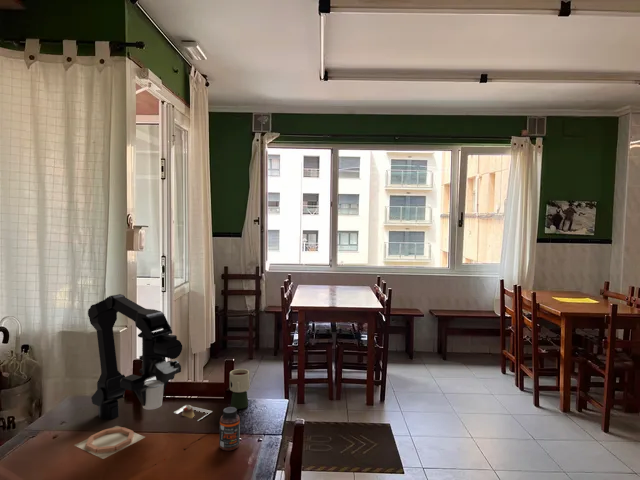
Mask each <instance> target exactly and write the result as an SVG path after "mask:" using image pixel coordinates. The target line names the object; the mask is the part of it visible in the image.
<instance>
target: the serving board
mask: <svg viewBox="0 0 640 480" xmlns="http://www.w3.org/2000/svg"><path fill="white" fill-rule="evenodd" d="M120 427H121V426H119V425H115V426H113V427H112V428H120ZM128 436H129V435H127V434H124V433H122V432H118V433H109V434H105V435H103V436H101V437H99V438H96V439H94V441H93V443H92V444H93V445H95V446H97V447H106V446H115V445H117V444H119V443H121V442H123V441H125V440H127V439H128ZM145 438H146V436H144V435H141V434H139V433H136V432H134V436H133V439H132V442H131V443H130V444H128V445H126V446H124V447H122V448H120V449H118V450H115V451H110V452H102V453H97V452H96V453H95V452H93V451H91V450H88V449H86V443H87V441H88V439H89V438H86V439H85V440H82V441H80V442H78V443H75V444H74V445H73V446H74V447H77V448H79V449H81V450H82V451H85V452H87V453H89V454H92V455H93V456H95V457H97V458H100V459H102V460H104V459H106V458H108V457H110V456H113V455H114V454H116V453H118V452H120V451H123V450H124V449H126V448H128V447H129V446H132V445H133V444H136V443H138V442H140V441H141V440H143V439H145Z"/></svg>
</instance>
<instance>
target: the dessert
mask: <svg viewBox="0 0 640 480" xmlns="http://www.w3.org/2000/svg"><path fill="white" fill-rule="evenodd" d="M194 410H196V411H195V412H199V411H200V413H203V412H205V413H204V414H205V415H203V416H202V417H201V418H199V419H197V422H199V421H200V420H202V419H204V418H205V417H207V416H208V415H209V414H212V413H213V410H208V409H205V408H201V407H196V406H192V405H190V404H185V405H183V406H182V407H180V408H178V409H177V410H175V411H173V413H174V414H175V415H176V414H177V415H178V414H180V413H181V412H182V413H181V416H182V417H185V418H189V419H191V420H192V419H193V417H194V416H195V417H196V415H195V413H194ZM207 413H208V414H207ZM195 417H194V418H195Z"/></svg>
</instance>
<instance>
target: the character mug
mask: <svg viewBox="0 0 640 480" xmlns="http://www.w3.org/2000/svg"><path fill="white" fill-rule="evenodd" d="M229 390H230V391H231V392H232V394H231V399H230V400H231V401H230V407H234V408H236V409H237V410H240V409H241V410H242V409H246V408H247V407H248V406H249V399H248V392H247V391H249V390H250V370H248V369H246V368H237V369H233V370H231V371H230V372H229Z"/></svg>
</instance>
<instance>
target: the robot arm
mask: <svg viewBox="0 0 640 480" xmlns="http://www.w3.org/2000/svg"><path fill="white" fill-rule="evenodd" d="M118 313H120V314H122V315H123V316H124V317H127V318H128V319H130V320H132V321H133V322H134V324H135V327H136V328H137V329H138V330H139V331H140V333H138V334H137V337H138V338H141V339H142V340H141V341H142V342H141V343H142V344H141V345H142V346H141V347H142V348H141V349H142V350H141V354H142V355H139V356H138V357H139V360H140V361H141V362H142V363H141V368H140V369H139V373H140V374H141V375H137V374H129V375H127V376H125V374H122V373H121V372H120V371H119V369H118V362H117V353H116V352H117V351H116V343H115V336H114V326H115V325H116V322H117V319H118ZM87 316H88V318H89V323H90V325H91V326H92V327H93V328H94V330H96V336H97V343H98V355H99V364H100V375H99V377H98V381H97V383H96V388H97V389H96V391H95V392H94V393H93V395H92V396H91V403H92V404H93V405H94V406H97V407H98V409H97V411H98V418H99V419H101V420H114V419H117V418H119V417H120V414H119V413H120V411H119V410H120V409H119V400H121V399H124V397H125V393H126V390H127V391H129V392H134V393H135V394H136V397H137V399H138V401H139V402H140V404H141V406H142V407H143V406H145V403H146V389H147V388H148V387H149V386H147V385H145V382H146V381H149V380H152V379H154V378H155V380H160V381H161V382H163V383H164V389H163V395H164V394H165V392H166V391H165V390H166V388H167V385H168V383H169V381H171V380H174V379H175V376H176V375H177V374H179V373H181V372H182V365H181V364H180V362H179V360H177V358H179V356H180V355H181V353H182V350H183V344H182V341H180V339H178V336H177V335H175V334H173V331H172V327H171V325H170V324H169V322H168V320H167V317H166V316H165V314H164V312H163V311H161V310H159V309H158V310H157V309H154V308H145V307H143V306H142V305H140V304H138V303H136V302H134V301H132V300H130V299H129V298H127V297H125V295H124V294H121V293H119V294H113V295H109V296H107V297H106V298H105V299H102V300H101V301H99V302H97V303H95V304H91V305H90V307H89V308H88V311H87ZM172 334H173V335H172ZM166 358H167V359H170V360H166ZM172 360H173V361H172Z"/></svg>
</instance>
